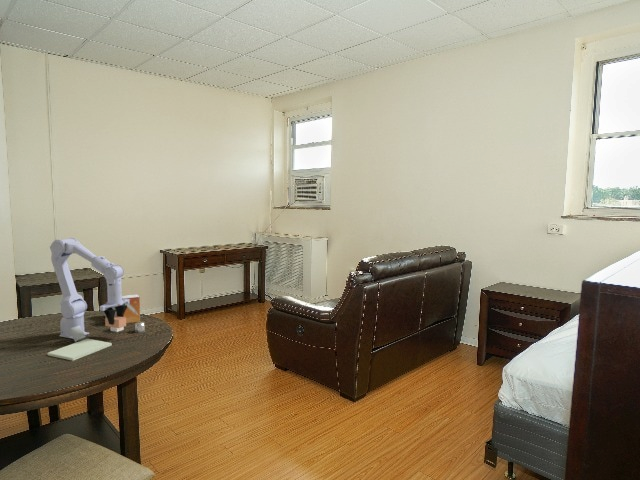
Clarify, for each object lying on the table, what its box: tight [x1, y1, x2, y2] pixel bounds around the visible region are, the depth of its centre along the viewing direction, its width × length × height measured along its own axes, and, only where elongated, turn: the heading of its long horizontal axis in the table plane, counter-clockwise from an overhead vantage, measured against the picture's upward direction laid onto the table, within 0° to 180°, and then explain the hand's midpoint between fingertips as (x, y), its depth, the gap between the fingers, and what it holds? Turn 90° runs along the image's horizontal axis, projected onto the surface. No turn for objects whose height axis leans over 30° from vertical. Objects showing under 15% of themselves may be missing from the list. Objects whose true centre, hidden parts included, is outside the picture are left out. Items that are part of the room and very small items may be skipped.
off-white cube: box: [110, 326, 125, 333], centre depth 195 cm, size 4×4×4 cm
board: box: [47, 338, 112, 362], centre depth 170 cm, size 14×18×1 cm
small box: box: [122, 293, 141, 324], centre depth 208 cm, size 8×6×13 cm
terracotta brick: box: [104, 316, 127, 328], centre depth 184 cm, size 8×4×4 cm, turn 69°
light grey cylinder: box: [134, 321, 146, 334], centre depth 194 cm, size 4×4×4 cm
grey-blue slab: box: [69, 326, 87, 343], centre depth 181 cm, size 6×4×2 cm
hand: (115, 322), depth 184 cm, fingers closed on terracotta brick, 4 cm apart
